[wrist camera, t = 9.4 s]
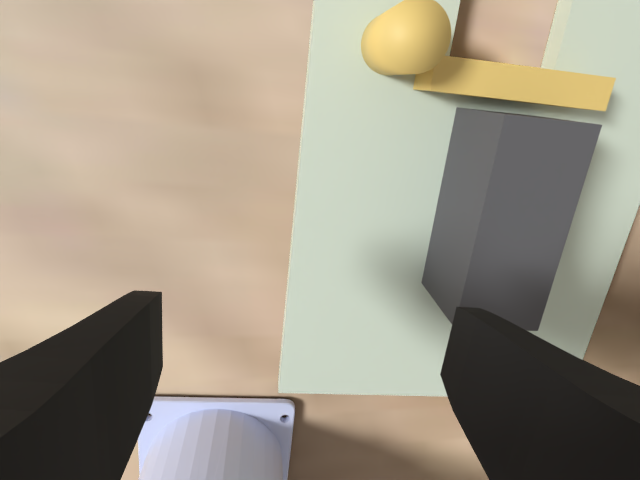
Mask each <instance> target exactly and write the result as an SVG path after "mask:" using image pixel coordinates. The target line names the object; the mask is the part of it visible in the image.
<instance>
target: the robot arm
mask: <svg viewBox="0 0 640 480" xmlns="http://www.w3.org/2000/svg"><path fill="white" fill-rule="evenodd" d="M162 367H163V354H162V292H152V291H132V292H130V293H128V294H126V295H124V296H123V297H121V298H119V299H117V300H116V301H114V302H112V303H111V304H109V305H107V306H105V307H104V308H102V309H100V310H99V311H97V312H95V313H94V314H92V315H90V316H88V317H87V318H85V319H83V320H82V321H80V322H78V323H76V324H75V325H73V326H71V327H69V328H68V329H66V330H64V331H62V332H60V333H58V334H56V335H54V336H52V337H50V338H49V339H47V340H45V341H43V342H41V343H39V344H37V345H35V346H33V347H31V348H30V349H28V350H26V351H24V352H22V353H19V354H17V355H15V356H13V357H11V358H9V359H7V360H4V361H2V362H0V480H120V479H121V477H122V475H123V472H124V470H125V468H126V465H127V463H128V461H129V458H130V456H131V454H132V451H133V449H134V447H135V444H136V442H137V440H138V448H139V474H140V476H139V479H138V480H287V479H288V470H289V461H290V452H291V443H292V434H293V425H294V416H295V404H294V403H293V401H291V400H289V399H259V398H207V397H155V393H156V390H157V386H158V382H159V379H160V375H161V371H162ZM440 375H441V378H442V381H443V384H444V387H445V390H446V393H447V396H448V399H449V401H450V404H451V406H452V409H453V411H454V413H455V415H456V417H457V419H458V421H459V423H460V425H461V427H462V429H463V431H464V433H465V435H466V437H467V439H468V440H469V442H470V444H471V446H472V448H473V450H474V452H475V454H476V455H477V457H478V459H479V461H480V463H481V465H482V467H483V469H484V470H485V472H486V474H487V476H488V478H489V480H640V386H639V385H636V384H634V383H631V382H629V381H627V380H624V379H622V378H620V377H618V376H615V375H613V374H611V373H609V372H607V371H604V370H602V369H600V368H598V367H596V366H594V365H592V364H590V363H588V362H586V361H584V360H582V359H580V358H578V357H576V356H574V355H572V354H570V353H568V352H566V351H564V350H562V349H560V348H558V347H556V346H555V345H553V344H551V343H549V342H547V341H545V340H543V339H541V338H540V337H538V336H536V335H534V334H532V333H530V332H528V331H526V330H525V329H523V328H521V327H519V326H517V325H515V324H513V323H511V322H510V321H508V320H506V319H504V318H502V317H500V316H498V315H495V314H493V313H491V312H489V311H486V310H484V309H481V308H472V307H456V311H455V315H454V319H453V323H452V327H451V332H450V336H449V340H448V344H447V348H446V352H445V356H444V361H443V365H442V369H441V373H440ZM149 413H150V414H151V416H148V414H149ZM283 415H288V417H281V416H283Z"/></svg>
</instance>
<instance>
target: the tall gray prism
mask: <svg viewBox="0 0 640 480" xmlns="http://www.w3.org/2000/svg"><path fill="white" fill-rule="evenodd" d="M601 127H602V125H600V124H593V123H585V122H578V121H570V120H563V119H556V118H548V117H541V116H533V115H524V114H514V113H505V112H496V111H487V110H477V109H468V108H459V107H457V108H456V113H455V118H454V123H453V128H452V133H451V138H450V143H449V148H448V153H447V158H446V163H445V168H444V173H443V177H442V182H441V187H440V192H439V197H438V202H437V207H436V212H435V217H434V222H433V227H432V232H431V237H430V242H429V247H428V252H427V257H426V262H425V267H424V272H423V277H422V282H421V283H422V284H423V286H424V287H425V289H426V290H427V291H428V293H429V294H430V295H431V297H432V298H433V299H434V301H435V302H436V304H437V305H438V306H439V308H440V309H441V310H442V312H443V313H444V314H445V316H446V317H447V319H448V320H449V321H450V323H451V324H452V323H453V319H454V315H455V311H456V307H472V308H481V309H484V310H486V311H489V312H491V313H493V314H495V315H498V316H500V317H502V318H504V319H506V320H508V321H510V322H511V323H513V324H515V325H517V326H519V327H521V328H523V329H525V330H526V331H538V329H539V326H540V323H541V320H542V316H543V313H544V310H545V307H546V304H547V300H548V297H549V294H550V291H551V288H552V284H553V281H554V278H555V275H556V272H557V268H558V265H559V262H560V259H561V256H562V252H563V249H564V246H565V243H566V240H567V236H568V233H569V230H570V227H571V224H572V220H573V217H574V214H575V211H576V207H577V204H578V201H579V198H580V195H581V191H582V188H583V185H584V182H585V179H586V175H587V172H588V169H589V166H590V163H591V159H592V156H593V153H594V150H595V147H596V143H597V140H598V137H599V134H600V131H601Z"/></svg>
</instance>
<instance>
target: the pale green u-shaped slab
mask: <svg viewBox="0 0 640 480" xmlns="http://www.w3.org/2000/svg"><path fill="white" fill-rule="evenodd" d="M459 5H460V0H313V9H312V20H311V31H310V42H309V52H308V63H307V74H306V85H305V96H304V106H303V117H302V128H301V139H300V150H299V161H298V171H297V182H296V193H295V204H294V215H293V225H292V236H291V247H290V258H289V269H288V280H287V290H286V301H285V312H284V323H283V334H282V344H281V355H280V366H279V377H278V393H308V394H356V395H403V396H447V393H446V390H445V387H444V384H443V381H442V378H441V375H440V373H441V369H442V365H443V361H444V356H445V352H446V348H447V344H448V340H449V336H450V332H451V327H452V324H451V323H450V321H449V320H448V319H447V317H446V316H445V314H444V313H443V312H442V310H441V309H440V308H439V306H438V305H437V304H436V302H435V301H434V299H433V298H432V297H431V295H430V294H429V293H428V291H427V290H426V289H425V287H424V286H423V284H422V283H421V282H422V277H423V272H424V267H425V262H426V257H427V252H428V247H429V242H430V237H431V232H432V227H433V222H434V217H435V212H436V207H437V202H438V197H439V192H440V187H441V182H442V177H443V173H444V168H445V163H446V158H447V153H448V148H449V143H450V138H451V133H452V128H453V123H454V118H455V113H456V108H457V107H459V108H468V109H477V110H487V111H496V112H505V113H514V114H524V115H533V116H541V117H548V118H556V119H563V120H570V121H578V122H585V123H593V124H600V125H602V127H601V131H600V134H599V137H598V140H597V143H596V147H595V150H594V153H593V156H592V159H591V163H590V166H589V169H588V172H587V175H586V179H585V182H584V185H583V188H582V191H581V195H580V198H579V201H578V204H577V207H576V211H575V214H574V217H573V220H572V224H571V227H570V230H569V233H568V236H567V240H566V243H565V246H564V249H563V252H562V256H561V259H560V262H559V265H558V268H557V272H556V275H555V278H554V281H553V284H552V288H551V291H550V294H549V297H548V300H547V304H546V307H545V310H544V313H543V316H542V320H541V323H540V326H539V329H538V331H528V332H530V333H532V334H534V335H536V336H538V337H540V338H541V339H543V340H545V341H547V342H549V343H551V344H553V345H555V346H556V347H558V348H560V349H562V350H564V351H566V352H568V353H570V354H572V355H574V356H576V357H578V358H580V359H582V360H583V357H584V355H585V352H586V349H587V346H588V344H589V341H590V338H591V336H592V333H593V330H594V327H595V325H596V322H597V319H598V317H599V314H600V311H601V308H602V306H603V303H604V300H605V297H606V295H607V292H608V289H609V287H610V284H611V281H612V278H613V276H614V273H615V270H616V268H617V265H618V262H619V259H620V257H621V254H622V251H623V248H624V246H625V243H626V240H627V238H628V235H629V232H630V229H631V227H632V224H633V221H634V218H635V216H636V213H637V210H638V208H639V205H640V0H558V3H557V7H556V11H555V15H554V19H553V22H552V26H551V30H550V34H549V38H548V42H547V45H546V49H545V53H544V57H543V61H542V65H541V68H537V67H529V66H521V65H514V64H506V63H498V62H491V61H483V60H475V59H468V58H460V57H452V56H450V52H451V47H452V41H453V36H454V31H455V26H456V21H457V16H458V10H459Z"/></svg>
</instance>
